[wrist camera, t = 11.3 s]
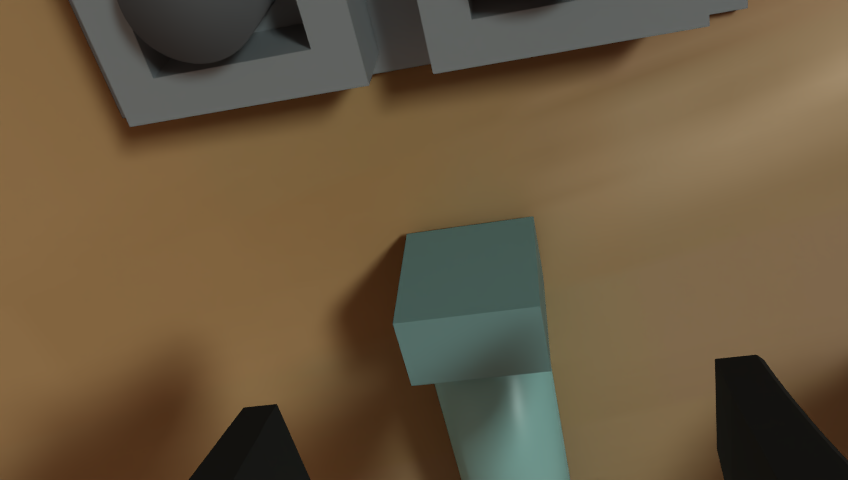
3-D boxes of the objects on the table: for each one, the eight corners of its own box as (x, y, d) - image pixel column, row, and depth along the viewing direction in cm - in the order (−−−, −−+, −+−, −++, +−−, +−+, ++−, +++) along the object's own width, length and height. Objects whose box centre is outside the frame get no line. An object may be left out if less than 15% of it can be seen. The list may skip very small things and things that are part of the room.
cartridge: (533, 216, 21) (540, 306, 18) (589, 559, 29) (600, 661, 26) (406, 234, 21) (392, 323, 18) (496, 565, 30) (496, 665, 27)
